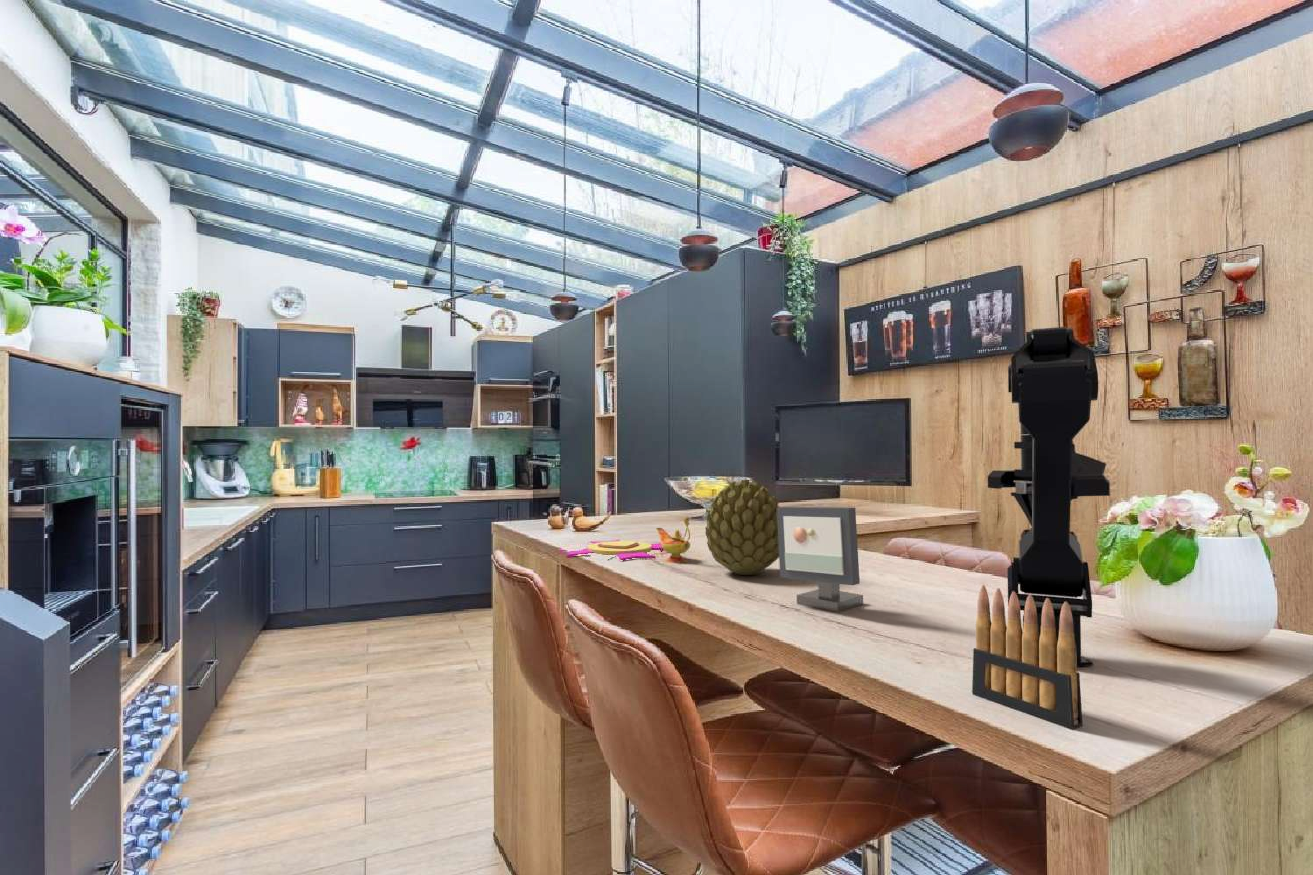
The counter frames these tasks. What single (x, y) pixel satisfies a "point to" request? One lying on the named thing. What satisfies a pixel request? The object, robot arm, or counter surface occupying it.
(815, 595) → the picture stand
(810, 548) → the picture frame
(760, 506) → the decorative object
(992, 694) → the ammunition clip
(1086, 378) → the robot arm
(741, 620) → the counter surface
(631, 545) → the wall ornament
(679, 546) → the magic lamp
